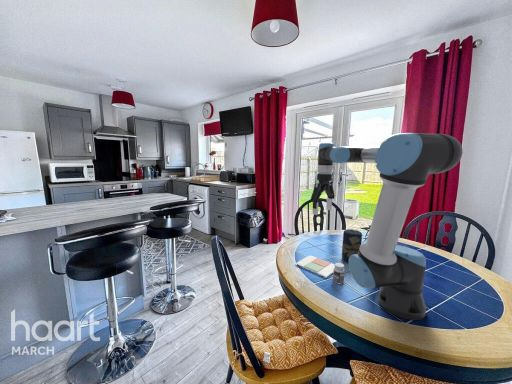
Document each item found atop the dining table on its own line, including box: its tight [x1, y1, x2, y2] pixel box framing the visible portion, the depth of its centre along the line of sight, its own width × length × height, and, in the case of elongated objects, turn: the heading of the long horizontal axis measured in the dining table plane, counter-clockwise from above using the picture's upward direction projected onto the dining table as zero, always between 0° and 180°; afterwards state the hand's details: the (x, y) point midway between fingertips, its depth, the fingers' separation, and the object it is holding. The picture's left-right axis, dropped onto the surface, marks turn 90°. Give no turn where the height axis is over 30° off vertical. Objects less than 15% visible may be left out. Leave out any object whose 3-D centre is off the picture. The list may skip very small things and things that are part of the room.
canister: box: [341, 228, 363, 263], centre depth 116 cm, size 10×10×18 cm
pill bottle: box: [332, 262, 346, 285], centre depth 96 cm, size 5×5×8 cm
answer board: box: [295, 254, 336, 279], centre depth 110 cm, size 18×14×1 cm
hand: (322, 212), depth 113 cm, fingers open, 13 cm apart
